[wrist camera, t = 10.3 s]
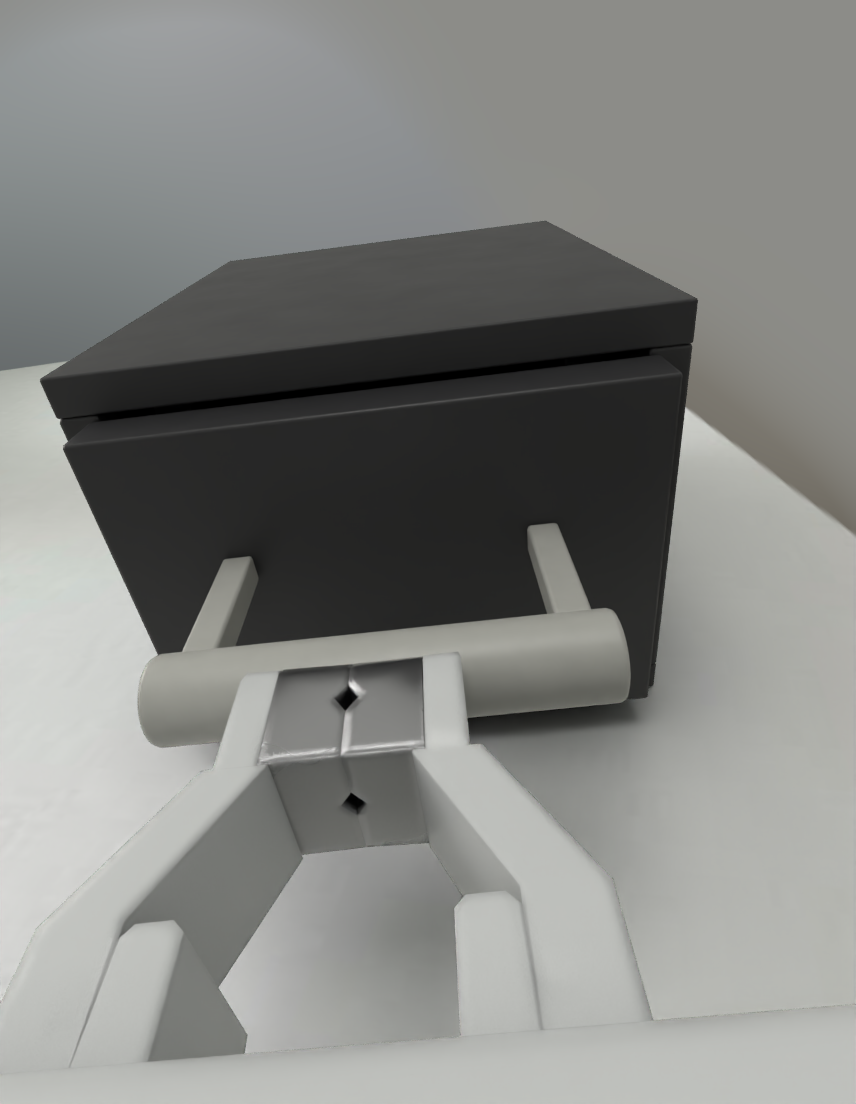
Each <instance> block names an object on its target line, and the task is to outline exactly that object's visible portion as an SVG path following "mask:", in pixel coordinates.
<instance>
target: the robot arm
mask: <svg viewBox="0 0 856 1104" xmlns="http://www.w3.org/2000/svg"><path fill="white" fill-rule="evenodd" d="M421 843H429V844H430V847H431V849H432V850H433V852H434V853H435V855H436V856H437V858H438V859H439V861H440V862H441V864H442V865H443V867H444V869H445V870H446V872H447V873H448V875H449V876H450V878H451V879H452V881H453V882H454V884H455V885H456V887H457V888H458V890H459V892H460V893H461V895H462V896H463V898H462V899H461V900H460V901H459V903H458V904H457V905H456V907H455V908H454V916H455V937H456V958H457V979H458V1000H459V1022H460V1036H456V1037H444V1038H432V1039H420V1040H408V1041H395V1042H383V1043H371V1044H359V1045H347V1046H334V1047H322V1048H310V1049H298V1050H286V1051H273V1052H261V1053H249V1054H244V1053H245V1047H246V1041H247V1033H246V1032H245V1030H244V1028H243V1027H242V1025H241V1024H240V1022H239V1020H238V1019H237V1017H236V1016H235V1014H234V1012H233V1011H232V1009H231V1007H230V1006H229V1004H228V1003H227V1001H226V999H225V998H224V996H223V995H222V993H221V991H220V990H219V988H218V987H219V986H220V984H221V983H222V981H223V980H224V978H225V977H226V975H227V974H228V972H229V970H230V969H231V967H232V966H233V964H234V963H235V961H236V960H237V958H238V957H239V955H240V954H241V952H242V951H243V949H244V948H245V946H246V945H247V943H248V942H249V940H250V939H251V937H252V936H253V934H254V933H255V931H256V929H257V928H258V926H259V925H260V923H261V922H262V920H263V919H264V917H265V916H266V914H267V913H268V911H269V910H270V908H271V907H272V905H273V904H274V902H275V901H276V899H277V898H278V896H279V895H280V893H281V891H282V890H283V888H284V887H285V885H286V884H287V882H288V881H289V879H290V878H291V876H292V875H293V873H294V872H295V870H296V869H297V867H298V866H299V864H300V863H301V861H302V860H303V857H302V855H304V854H313V853H321V852H329V851H337V850H346V849H354V848H362V847H375V846H390V845H406V844H421ZM0 1104H856V1004H850V1005H838V1006H825V1007H813V1008H801V1009H789V1010H776V1011H764V1012H752V1013H739V1014H727V1015H715V1016H702V1017H690V1018H678V1019H666V1020H653V1018H652V1014H651V1011H650V1007H649V1004H648V1000H647V997H646V993H645V990H644V986H643V983H642V979H641V975H640V972H639V968H638V965H637V961H636V958H635V954H634V951H633V947H632V944H631V940H630V937H629V933H628V930H627V926H626V923H625V919H624V916H623V912H622V909H621V905H620V902H619V898H618V895H617V891H616V888H615V884H614V881H613V878H612V877H611V876H610V875H609V874H608V873H607V872H606V871H605V870H604V869H603V868H602V867H601V866H600V865H599V864H598V863H597V862H596V861H595V860H594V859H593V858H592V857H591V855H590V854H589V853H588V852H587V851H586V850H585V849H584V848H583V847H582V846H581V845H580V844H579V843H578V842H577V841H576V840H575V839H574V838H573V837H572V836H571V835H570V834H569V833H568V832H567V831H566V830H565V829H564V828H563V827H562V826H561V825H560V824H559V823H558V822H557V821H556V820H555V819H554V818H553V817H552V815H551V814H550V813H549V812H548V811H547V810H546V809H545V808H544V807H543V806H542V805H541V804H540V803H539V802H538V801H537V800H536V799H535V798H534V797H533V796H532V795H531V794H530V793H529V792H528V791H527V790H526V789H525V788H524V787H523V786H522V785H521V784H520V783H519V782H518V781H517V780H516V779H515V778H514V777H513V775H512V774H511V773H510V772H509V771H508V770H507V769H506V768H505V767H504V766H503V765H502V764H501V763H500V762H499V761H498V760H497V759H496V758H495V757H494V756H493V755H492V754H491V753H490V752H489V751H488V750H487V749H486V748H485V747H484V746H483V745H482V744H470V738H469V729H468V720H467V711H466V701H465V692H464V683H463V674H462V665H461V656H460V654H459V652H458V651H457V652H449V653H441V654H432V655H424V656H420V657H411V658H402V659H393V660H384V661H375V662H366V663H357V664H347V665H335V666H322V667H309V668H297V669H284V670H282V671H268V672H255V673H247V674H246V675H245V676H244V678H243V679H242V680H241V681H240V684H239V687H238V691H237V694H236V697H235V700H234V703H233V706H232V709H231V713H230V716H229V719H228V722H227V725H226V728H225V731H224V735H223V738H222V741H221V744H220V747H219V750H218V754H217V757H216V760H215V763H214V766H213V769H212V770H205V771H201V772H200V773H198V774H197V775H196V776H195V777H194V778H193V779H192V780H191V781H190V782H189V783H188V784H187V785H186V786H185V787H184V788H183V789H182V790H181V791H180V792H179V793H178V794H176V795H175V796H174V797H173V798H172V799H171V800H170V801H169V802H168V803H167V804H166V805H165V806H164V807H163V808H162V809H161V810H160V811H159V812H158V813H157V814H156V815H155V816H153V817H152V818H151V819H150V820H149V821H148V822H147V823H146V824H145V825H144V826H143V827H142V828H141V829H140V830H139V831H138V832H137V833H136V834H135V835H134V836H133V837H131V838H130V839H129V840H128V841H127V842H126V843H125V844H124V845H123V846H122V847H121V848H120V849H119V850H118V851H117V852H116V853H115V854H114V855H113V856H112V857H111V858H109V859H108V860H107V861H106V862H105V863H104V864H103V865H102V866H101V867H100V868H99V869H98V870H97V871H96V872H95V873H94V874H93V875H92V876H91V877H90V878H89V879H87V880H86V881H85V882H84V883H83V884H82V885H81V886H80V887H79V888H78V889H77V890H76V891H75V892H74V893H73V894H72V895H71V896H70V897H69V898H68V899H67V900H66V901H64V902H63V903H62V904H61V905H60V906H59V907H58V908H57V909H56V910H55V911H54V912H53V913H52V914H51V915H50V916H49V917H48V918H47V919H46V920H45V921H44V922H42V923H41V924H40V925H39V926H38V927H37V928H36V930H35V932H34V934H33V936H32V938H31V940H30V943H29V945H28V947H27V949H26V951H25V953H24V955H23V957H22V959H21V961H20V963H19V965H18V968H17V970H16V972H15V974H14V976H13V978H12V980H11V982H10V984H9V986H8V988H7V990H6V993H5V995H4V997H3V999H2V1001H1V1003H0Z"/></svg>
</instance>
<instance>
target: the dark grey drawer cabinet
mask: <svg viewBox="0 0 856 1104" xmlns="http://www.w3.org/2000/svg"><path fill="white" fill-rule="evenodd" d="M697 303H698V300H697V298H695V297H693V296H691V295H689V294H687V293H685V292H683V291H681V290H680V289H678V288H675V287H674V286H672V285H670V284H668V283H666V282H664V281H662V280H660V279H658V278H656V277H654V276H652V275H650V274H648V273H646V272H645V271H643V270H641V269H639V268H637V267H635V266H633V265H631V264H629V263H627V262H625V261H623V260H621V259H619V258H617V257H615V256H613V255H611V254H609V253H607V252H606V251H603V250H601V249H599V248H597V247H596V246H594V245H592V244H590V243H588V242H586V241H584V240H582V239H580V238H578V237H576V236H574V235H572V234H570V233H569V232H567V231H565V230H563V229H561V228H559V227H557V226H555V225H553V224H551V223H549V222H547V221H540V222H532V223H524V224H517V225H509V226H501V227H494V228H485V229H478V230H470V231H462V232H454V233H446V234H439V235H431V236H423V237H416V238H407V239H400V240H392V241H384V242H376V243H369V244H361V245H353V246H345V247H338V248H330V249H322V250H314V251H306V252H298V253H291V254H283V255H275V256H267V257H260V258H252V259H244V260H236V261H230V262H228V263H226V264H225V265H223V266H221V267H220V268H218V269H217V270H215V271H213V272H212V273H210V274H209V275H207V276H206V277H204V278H202V279H200V280H199V281H197V282H196V283H194V284H193V285H191V286H189V287H188V288H186V289H184V290H183V291H181V292H180V293H178V294H176V295H175V296H173V297H172V298H170V299H168V300H167V301H165V302H163V303H162V304H160V305H159V306H157V307H155V308H154V309H152V310H151V311H149V312H147V313H146V314H144V315H143V316H141V317H140V318H138V319H136V320H134V321H133V322H131V323H130V324H128V325H126V326H125V327H123V328H122V329H120V330H118V331H117V332H115V333H113V334H112V335H110V336H109V337H107V338H105V339H104V340H103V341H101V342H99V343H97V344H96V345H94V346H93V347H91V348H89V349H88V350H86V351H84V352H83V353H81V354H80V355H78V356H76V357H75V358H73V359H72V360H70V361H68V362H67V363H65V364H63V365H62V366H60V367H59V368H57V369H55V370H54V371H52V372H51V373H49V374H47V375H46V376H44V377H42V378H41V379H40V382H41V385H42V387H43V389H44V391H45V393H46V396H47V398H48V400H49V402H50V404H51V407H52V409H53V411H54V413H55V415H56V417H57V418H58V419H60V425H61V427H62V429H63V431H64V434H65V436H66V438H67V440H68V441H69V440H71V439H72V438H73V437H74V436H75V435H77V434H78V433H79V432H80V431H81V430H82V429H84V428H85V427H86V426H87V425H88V424H90V423H91V422H100V421H108V420H117V419H125V418H133V417H142V416H150V415H156V412H155V409H154V408H155V407H163V406H172V405H180V404H188V403H197V402H205V401H213V400H222V399H230V398H238V397H247V396H255V395H264V394H272V393H280V392H289V391H297V390H305V389H314V388H322V387H330V386H339V385H347V384H355V383H364V382H372V381H380V380H389V379H397V378H405V377H414V376H422V375H430V374H439V373H447V372H456V371H464V370H472V369H481V368H489V367H497V366H506V365H514V364H522V363H531V362H539V361H547V360H556V359H564V358H572V357H581V356H589V355H597V354H603V361H611V360H619V359H628V358H636V357H645V356H653V355H660V356H662V357H663V358H664V359H665V360H667V361H668V362H669V363H670V364H671V365H673V366H674V367H675V368H676V369H678V370H679V371H680V372H681V373H682V385H681V395H680V404H679V413H678V422H677V431H676V440H675V450H674V459H673V468H672V477H671V486H670V495H669V504H668V514H667V523H666V532H665V541H664V550H663V559H662V569H661V578H660V587H659V596H658V605H657V614H656V624H655V633H654V642H653V651H652V660H651V669H650V678H649V686H653V684H654V675H655V667H656V664H655V663H656V657H657V649H658V640H659V631H660V622H661V614H662V605H663V596H664V588H665V579H666V570H667V561H668V553H669V544H670V535H671V526H672V518H673V509H674V500H675V492H676V483H677V474H678V465H679V457H680V448H681V439H682V430H683V422H684V413H685V404H686V396H687V387H688V377H689V369H690V361H691V352H692V345H691V344H690V343H692V342H693V338H694V329H695V321H696V312H697Z"/></svg>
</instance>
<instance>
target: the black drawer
mask: <svg viewBox="0 0 856 1104" xmlns="http://www.w3.org/2000/svg"><path fill="white" fill-rule="evenodd" d="M681 385H682V373H681V372H680V371H679V370H678V369H676V368H675V367H674V366H673V365H671V364H670V363H669V362H668V361H667V360H665V359H664V358H663V357H662V356H660V355H653V356H645V357H636V358H628V359H619V360H611V361H603V354H597V355H589V356H581V357H572V358H564V359H556V360H547V361H539V362H531V363H522V364H514V365H506V366H497V367H489V368H481V369H472V370H464V371H456V372H447V373H439V374H430V375H422V376H414V377H405V378H397V379H389V380H380V381H372V382H364V383H355V384H347V385H339V386H330V387H322V388H314V389H305V390H297V391H289V392H280V393H272V394H264V395H255V396H247V397H238V398H230V399H222V400H213V401H205V402H197V403H188V404H180V405H172V406H163V407H155V408H154V409H155V412H156V415H150V416H142V417H133V418H125V419H117V420H108V421H100V422H91V423H90V424H88V425H87V426H86V427H85V428H84V429H82V430H81V431H80V432H79V433H78V434H77V435H75V436H74V437H73V438H72V439H71V440H69V441H68V442H67V443H66V444H65V445H64V446H63V450H64V452H65V455H66V457H67V459H68V461H69V463H70V465H71V468H72V470H73V472H74V474H75V476H76V478H77V481H78V483H79V485H80V487H81V489H82V491H83V493H84V496H85V498H86V500H87V502H88V504H89V506H90V509H91V511H92V513H93V515H94V517H95V519H96V522H97V524H98V526H99V528H100V530H101V532H102V535H103V537H104V539H105V541H106V543H107V545H108V548H109V550H110V552H111V554H112V556H113V558H114V561H115V563H116V565H117V567H118V569H119V571H120V574H121V576H122V578H123V580H124V582H125V584H126V587H127V589H128V591H129V593H130V595H131V597H132V600H133V602H134V604H135V606H136V608H137V610H138V613H139V615H140V617H141V619H142V621H143V623H144V626H145V628H146V630H147V632H148V634H149V636H150V639H151V641H152V643H153V645H154V647H155V649H156V652H157V654H158V656H156V657H154V658H152V659H151V660H150V661H149V662H148V664H147V665H146V667H145V668H144V671H143V673H142V676H141V679H140V683H139V689H138V714H139V720H140V724H141V727H142V730H143V733H144V735H145V736H146V738H147V740H148V741H149V742H150V743H151V744H153V745H155V746H157V747H161V748H166V747H176V746H186V745H197V744H207V743H217V742H221V741H222V738H223V735H224V731H225V728H226V725H227V722H228V719H229V716H230V713H231V709H232V706H233V703H234V700H235V697H236V694H237V691H238V687H239V684H240V681H241V680H242V679H243V678H244V676H245V675H246V674H247V673H255V672H268V671H282V670H284V669H297V668H309V667H322V666H335V665H347V664H357V663H366V662H375V661H384V660H393V659H402V658H411V657H420V656H424V655H432V654H441V653H449V652H457V651H458V652H459V654H460V656H461V665H462V674H463V683H464V692H465V701H466V711H467V718H471V717H481V716H492V715H502V714H512V713H522V712H532V711H543V710H553V709H563V708H573V707H583V706H593V705H604V704H614V703H621V702H623V701H625V700H628V699H638V698H646V697H647V696H648V688H649V678H650V669H651V660H652V651H653V642H654V633H655V624H656V614H657V605H658V596H659V587H660V578H661V569H662V559H663V550H664V541H665V532H666V523H667V514H668V504H669V495H670V486H671V477H672V468H673V459H674V450H675V440H676V431H677V422H678V413H679V404H680V395H681Z"/></svg>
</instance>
